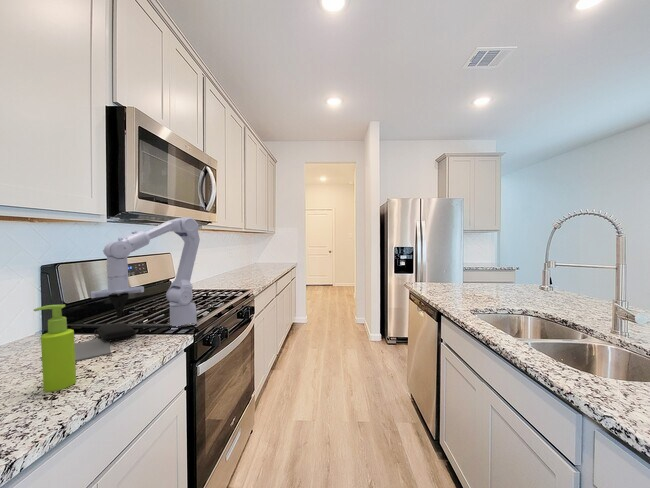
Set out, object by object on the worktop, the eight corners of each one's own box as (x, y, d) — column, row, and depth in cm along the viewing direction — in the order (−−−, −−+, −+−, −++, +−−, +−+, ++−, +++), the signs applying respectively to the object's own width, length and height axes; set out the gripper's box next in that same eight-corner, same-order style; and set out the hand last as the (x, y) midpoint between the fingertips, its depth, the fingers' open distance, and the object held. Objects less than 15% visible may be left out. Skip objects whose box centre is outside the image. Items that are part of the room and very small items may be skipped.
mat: (108, 337, 102) (108, 336, 102) (110, 353, 88) (110, 352, 88) (55, 348, 93) (55, 347, 93) (48, 367, 79) (48, 366, 79)
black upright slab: (100, 335, 94) (91, 326, 104) (100, 344, 94) (91, 334, 104) (137, 329, 102) (126, 321, 112) (137, 337, 102) (125, 329, 112)
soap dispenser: (45, 383, 71) (41, 304, 70) (80, 377, 73) (76, 301, 73) (32, 395, 65) (27, 310, 65) (70, 388, 68) (66, 306, 67)
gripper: (90, 280, 88) (91, 322, 89) (144, 275, 97) (145, 314, 98) (90, 277, 94) (92, 318, 94) (141, 273, 103) (143, 310, 103)
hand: (119, 315), depth 96 cm, fingers closed
